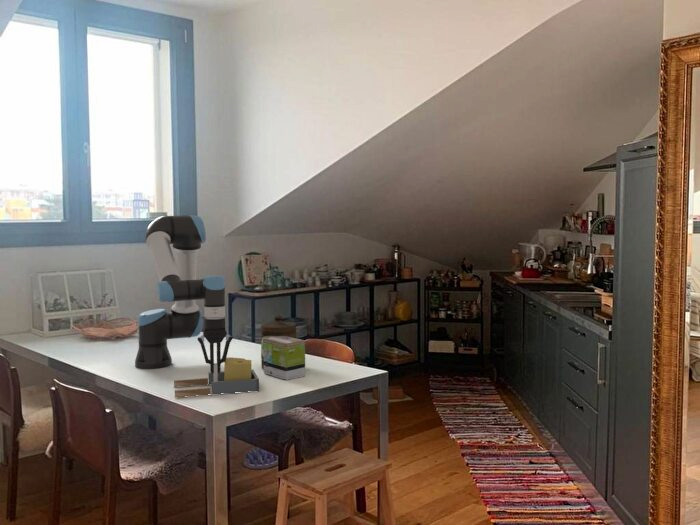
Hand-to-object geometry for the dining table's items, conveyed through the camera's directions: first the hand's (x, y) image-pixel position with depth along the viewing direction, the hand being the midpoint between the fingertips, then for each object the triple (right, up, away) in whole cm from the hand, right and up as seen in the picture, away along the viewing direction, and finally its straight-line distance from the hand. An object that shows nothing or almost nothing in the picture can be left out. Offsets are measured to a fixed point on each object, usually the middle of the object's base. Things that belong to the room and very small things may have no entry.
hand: (215, 381), depth 259 cm
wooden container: (+20, 0, +35) cm, 40 cm away
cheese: (+8, -3, +3) cm, 9 cm away
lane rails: (-8, -3, -1) cm, 9 cm away
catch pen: (+6, -3, +3) cm, 7 cm away
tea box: (+23, -1, +21) cm, 31 cm away
